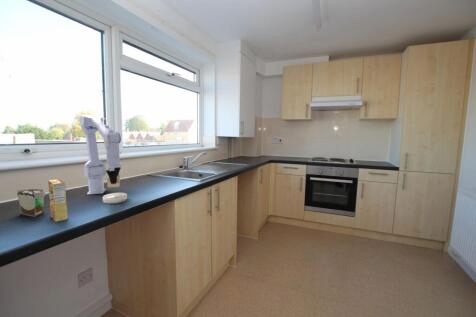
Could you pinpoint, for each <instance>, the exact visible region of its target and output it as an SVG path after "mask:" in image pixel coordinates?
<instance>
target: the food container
mask: <svg viewBox="0 0 476 317" xmlns="http://www.w3.org/2000/svg"><path fill="white" fill-rule="evenodd" d="M46 194H47V193H46V191H45V190H44V189H43V188H28V189H20V190H17V192H16V196H17V198H18V203H19V204H18V205H19V210H20V215H24V216H29V217H34V218H36V217H39V216H42V215H43V214H44V208H45V206H44V204H45V203H44V202H45V198H44V197H45V196H46Z"/></svg>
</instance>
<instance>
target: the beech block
mask: <svg viewBox="0 0 476 317" xmlns="http://www.w3.org/2000/svg"><path fill="white" fill-rule="evenodd" d="M120 178H121V177H120V175H118V176H117V182H116V184H111V182H110V178H109V176H107V178H106V179H107V182H106V183H107V188H108V189H109V188H119V187H120V186H121V179H120Z"/></svg>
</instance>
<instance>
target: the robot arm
mask: <svg viewBox="0 0 476 317" xmlns="http://www.w3.org/2000/svg"><path fill="white" fill-rule="evenodd" d="M79 124H80V129H81V131H82V132H84V135H85V142H86V149H87V155H88V161H87V162H86V163H84V165H83V175H84V177H85V178H87V182H88V192H87V193H86V195H96V194H98V195H99V194H104V192H106V191H107V188H105V186H104V184H105V183H104V182H105V181H104V177H105V176H106V175H108V176H109V178H110V182H111V184H116V182H117V176H118V175H119V174H120V170H121V169H122V167H123V164H122V163H120V162H121V161H120V160H121V158H120V143H121V141H122V136H121V134H120V132H118V131H114V130H113V129H112V128H111V127H110V126H109V125H108V124H105V123H104V118H103V117H102V116H101V115H90V114H89V115H87V114H82V115H80V118H79ZM97 132H98V133H99V135H100V136H101V137H102V138H103V139H102V140H103V143H104V148H105V152H106V165H105V162H103V161H101V159H100V157H99V149H98V143H97V137H96V133H97ZM106 168H108V169H106ZM108 176H107V177H108Z"/></svg>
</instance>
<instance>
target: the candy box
mask: <svg viewBox="0 0 476 317" xmlns="http://www.w3.org/2000/svg"><path fill="white" fill-rule="evenodd" d="M47 182H48V196H49V198H48V199H49V208H50V210H49V211H50V217H51V218H52V219H53V221H54V222H56V223H57V222H60V221H66V220H68V206H67V203H68V202H67V190H66V188H67V187H66V182H65V181H63V180H61V179H59V178H58V179H49V180H48V181H47Z"/></svg>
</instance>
